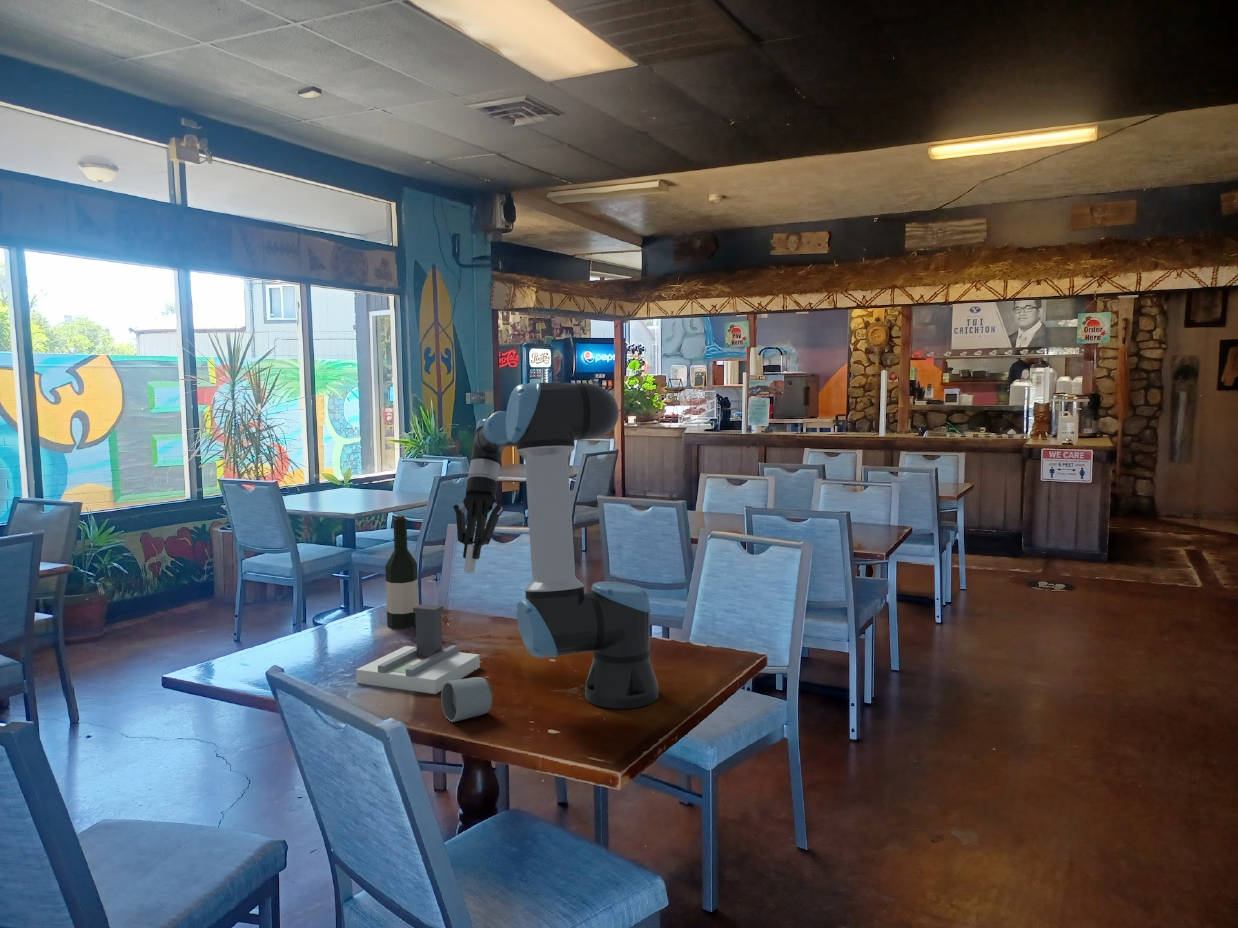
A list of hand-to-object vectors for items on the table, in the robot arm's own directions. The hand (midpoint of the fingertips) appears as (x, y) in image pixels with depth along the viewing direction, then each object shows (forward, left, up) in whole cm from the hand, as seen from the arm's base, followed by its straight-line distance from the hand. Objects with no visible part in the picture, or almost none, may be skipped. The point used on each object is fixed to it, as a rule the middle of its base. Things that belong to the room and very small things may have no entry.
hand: (468, 571), depth 200 cm
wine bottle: (+29, -14, -20) cm, 38 cm away
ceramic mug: (-20, +36, -20) cm, 46 cm away
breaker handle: (+1, +15, -16) cm, 22 cm away
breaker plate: (+1, +19, -19) cm, 27 cm away
